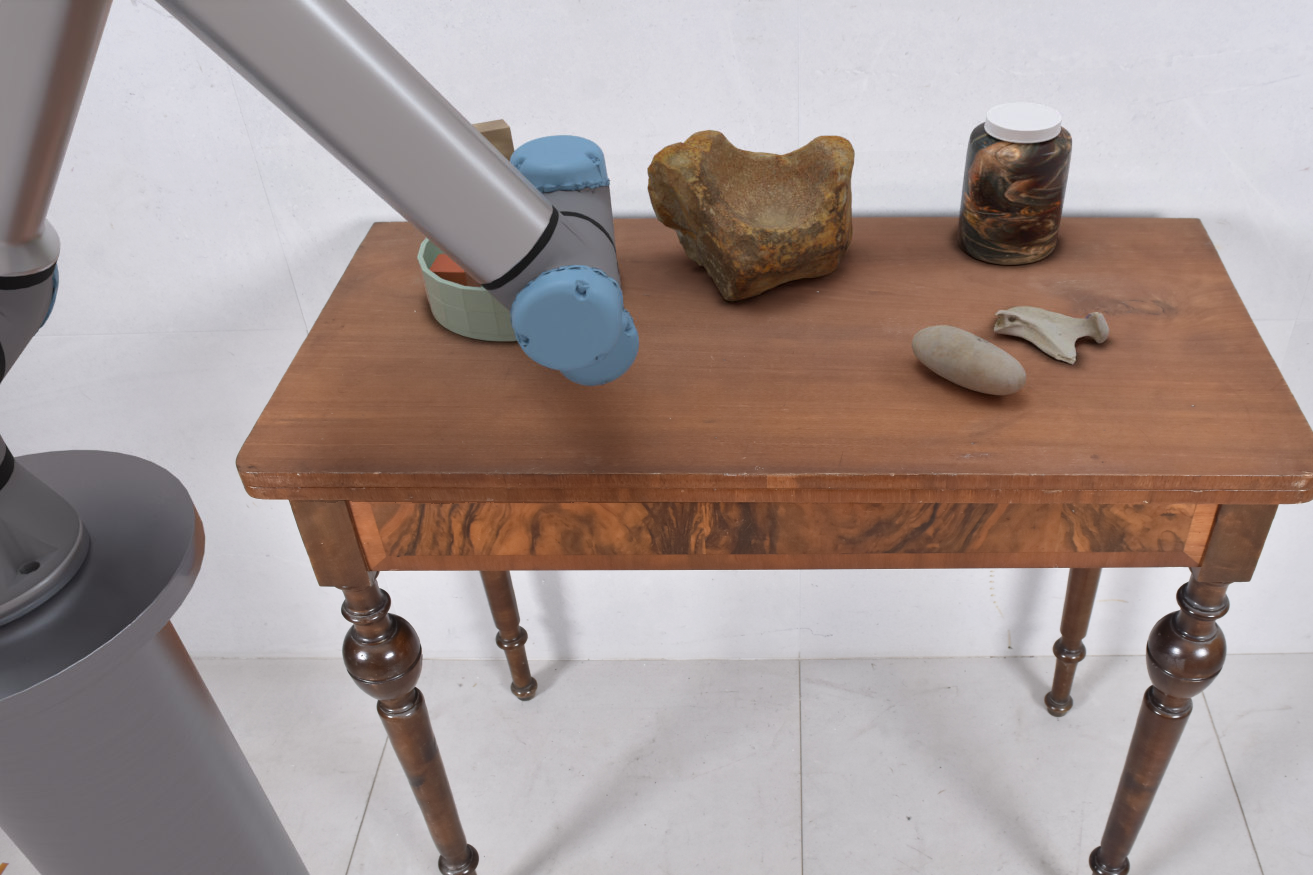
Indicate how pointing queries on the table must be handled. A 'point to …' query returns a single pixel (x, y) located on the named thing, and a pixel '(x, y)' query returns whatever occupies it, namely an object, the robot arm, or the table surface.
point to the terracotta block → (452, 271)
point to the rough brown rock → (756, 209)
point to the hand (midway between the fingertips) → (494, 178)
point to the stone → (968, 360)
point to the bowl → (463, 303)
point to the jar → (1014, 184)
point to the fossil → (1051, 329)
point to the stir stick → (497, 136)
